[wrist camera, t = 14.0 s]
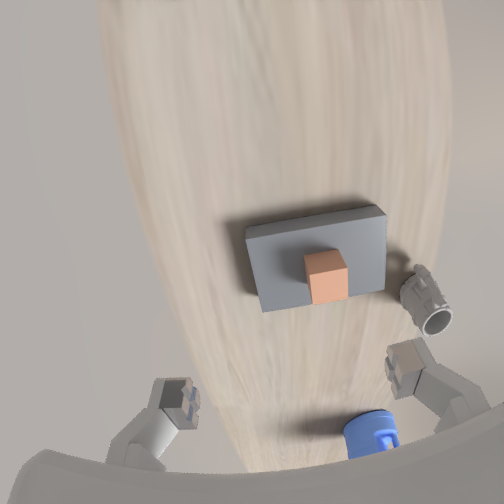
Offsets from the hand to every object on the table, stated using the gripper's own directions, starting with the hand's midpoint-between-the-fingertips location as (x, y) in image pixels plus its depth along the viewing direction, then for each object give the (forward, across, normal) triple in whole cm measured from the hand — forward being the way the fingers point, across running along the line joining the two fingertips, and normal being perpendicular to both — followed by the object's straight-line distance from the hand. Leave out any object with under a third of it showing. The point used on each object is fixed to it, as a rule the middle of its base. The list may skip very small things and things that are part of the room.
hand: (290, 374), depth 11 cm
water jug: (+34, -18, +76) cm, 85 cm away
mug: (+33, -24, +24) cm, 48 cm away
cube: (+29, -6, +14) cm, 33 cm away
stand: (+33, -6, +14) cm, 37 cm away
